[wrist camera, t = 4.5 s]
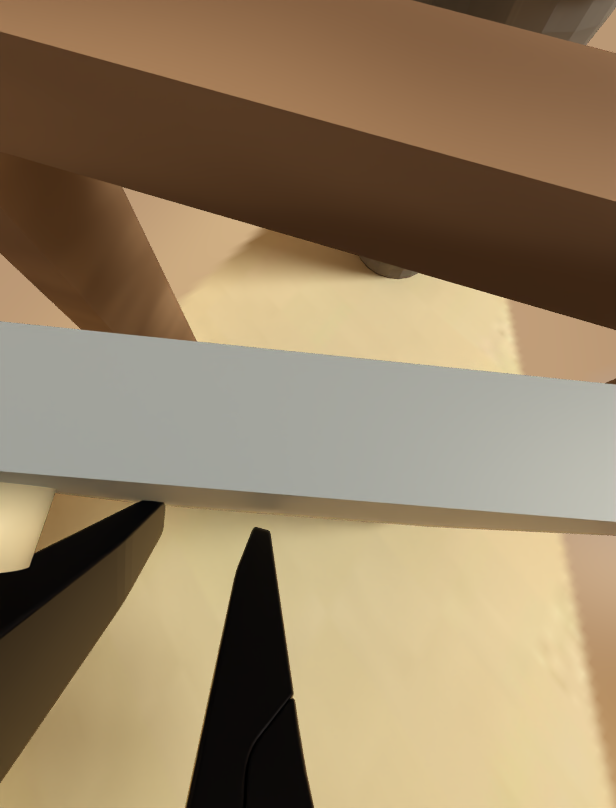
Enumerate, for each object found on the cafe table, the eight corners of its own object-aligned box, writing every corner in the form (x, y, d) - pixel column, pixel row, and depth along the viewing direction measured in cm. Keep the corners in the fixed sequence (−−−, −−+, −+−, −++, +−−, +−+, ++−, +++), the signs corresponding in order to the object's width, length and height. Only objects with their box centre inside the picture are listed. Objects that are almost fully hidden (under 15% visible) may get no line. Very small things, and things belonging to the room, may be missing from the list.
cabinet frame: (470, 506, 14) (1464, 436, 2) (168, 411, 15) (-333, -60, 3) (475, 455, 15) (1214, 208, 3) (190, 367, 16) (-117, -137, 4)
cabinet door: (451, 554, 13) (1227, 716, 2) (153, 532, 12) (-619, 608, 2) (447, 498, 13) (1006, 424, 3) (167, 474, 13) (-313, 288, 2)
